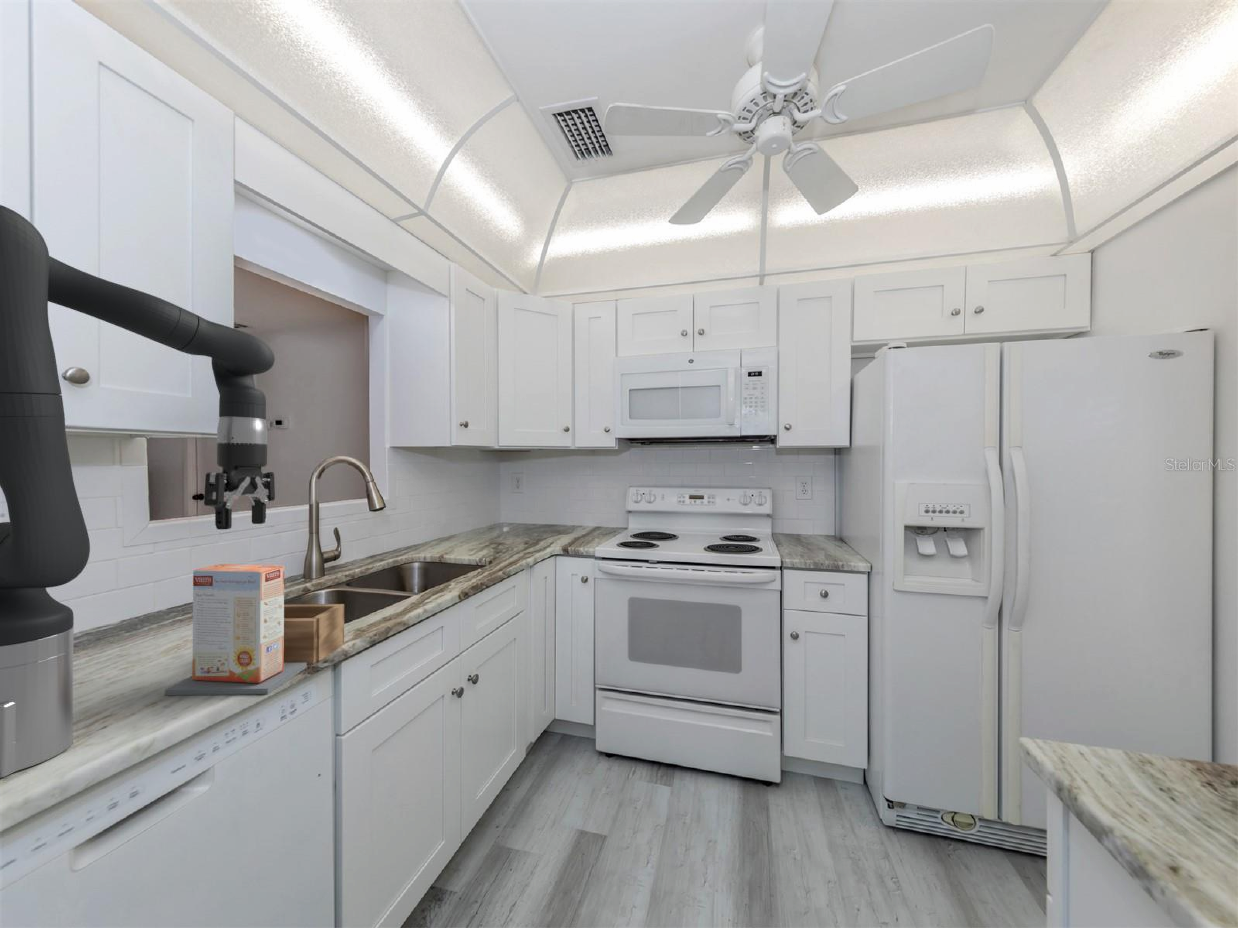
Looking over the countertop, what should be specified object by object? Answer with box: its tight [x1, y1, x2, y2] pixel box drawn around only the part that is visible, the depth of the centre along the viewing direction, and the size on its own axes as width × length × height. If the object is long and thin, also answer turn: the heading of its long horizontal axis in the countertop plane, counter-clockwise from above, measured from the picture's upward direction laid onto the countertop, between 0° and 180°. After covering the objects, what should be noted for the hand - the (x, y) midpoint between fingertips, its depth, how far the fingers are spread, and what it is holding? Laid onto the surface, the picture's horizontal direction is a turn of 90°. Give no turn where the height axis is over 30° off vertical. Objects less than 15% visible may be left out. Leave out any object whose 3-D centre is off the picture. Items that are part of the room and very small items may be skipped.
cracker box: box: [191, 564, 285, 683], centre depth 89 cm, size 14×6×21 cm, turn 84°
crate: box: [284, 603, 345, 665], centre depth 102 cm, size 11×19×9 cm, turn 92°
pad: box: [164, 663, 308, 696], centre depth 89 cm, size 11×18×1 cm, turn 92°
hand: (242, 526), depth 89 cm, fingers open, 8 cm apart
